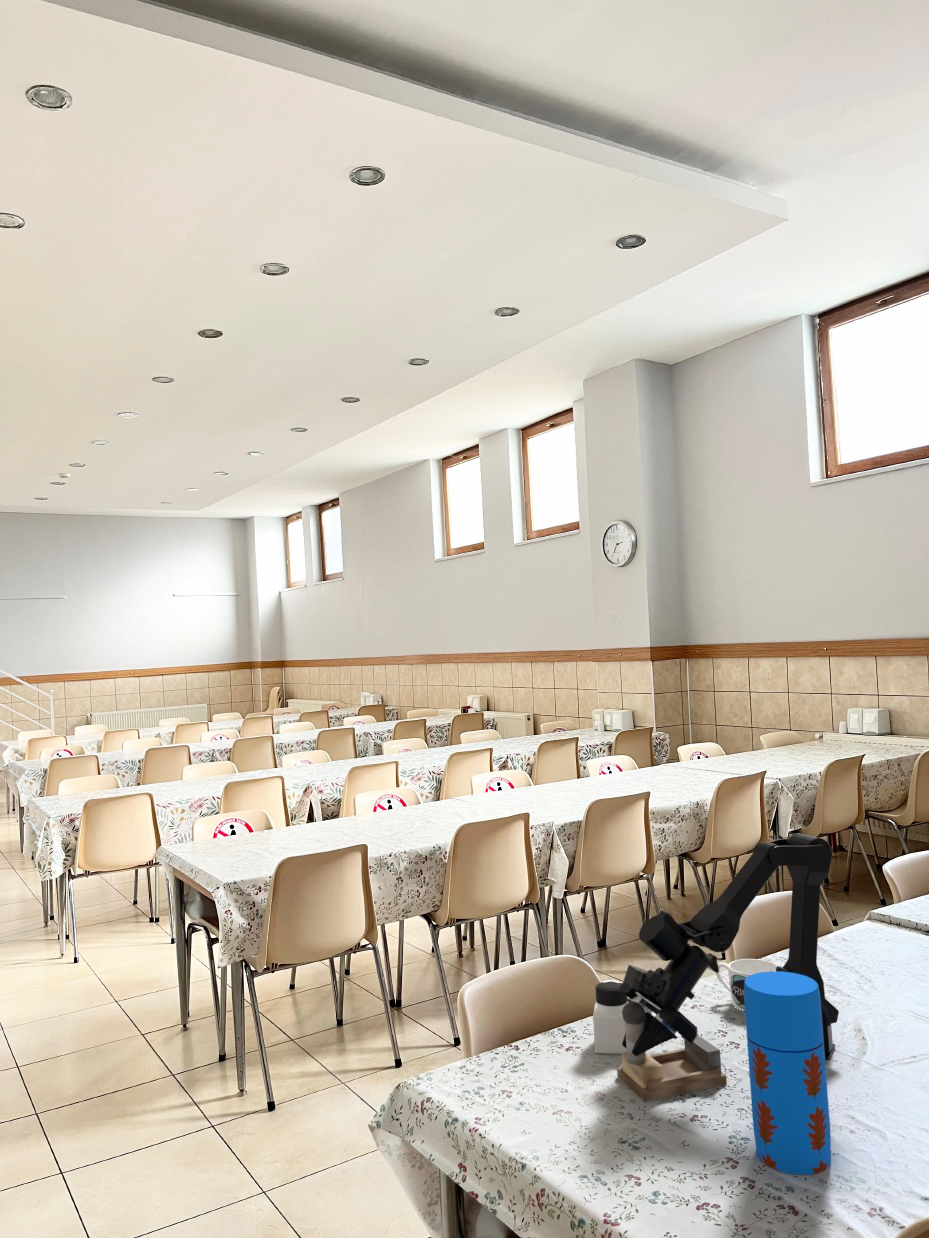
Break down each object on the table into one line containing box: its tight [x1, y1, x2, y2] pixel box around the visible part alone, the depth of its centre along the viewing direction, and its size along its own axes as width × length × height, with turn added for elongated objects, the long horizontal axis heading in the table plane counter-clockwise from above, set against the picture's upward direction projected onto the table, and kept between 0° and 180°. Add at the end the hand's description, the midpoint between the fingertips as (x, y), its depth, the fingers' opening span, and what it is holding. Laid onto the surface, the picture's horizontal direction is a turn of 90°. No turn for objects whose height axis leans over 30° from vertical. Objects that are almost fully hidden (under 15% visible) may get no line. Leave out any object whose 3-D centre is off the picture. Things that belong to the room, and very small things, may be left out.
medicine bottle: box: [592, 979, 628, 1055], centre depth 175 cm, size 7×7×12 cm
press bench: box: [616, 1034, 728, 1103], centre depth 159 cm, size 16×10×6 cm, turn 107°
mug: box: [715, 958, 778, 1012], centre depth 193 cm, size 13×10×8 cm
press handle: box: [621, 1002, 664, 1089], centre depth 158 cm, size 5×8×13 cm, turn 17°
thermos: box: [744, 971, 832, 1176], centre depth 134 cm, size 11×11×25 cm
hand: (628, 1050), depth 157 cm, fingers closed on press handle, 3 cm apart
